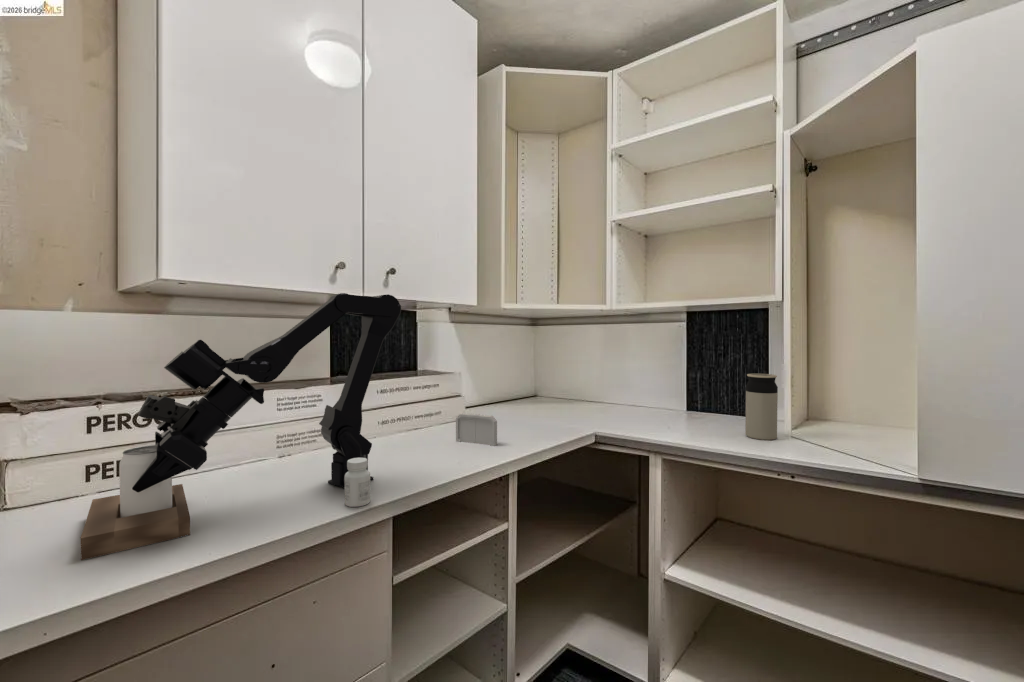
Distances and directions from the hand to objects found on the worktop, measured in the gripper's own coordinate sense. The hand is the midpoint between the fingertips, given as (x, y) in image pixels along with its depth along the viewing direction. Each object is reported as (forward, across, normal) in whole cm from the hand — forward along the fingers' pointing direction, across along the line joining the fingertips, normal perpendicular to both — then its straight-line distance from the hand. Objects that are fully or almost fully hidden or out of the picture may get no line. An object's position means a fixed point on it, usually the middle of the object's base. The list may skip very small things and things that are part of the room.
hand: (135, 485), depth 71 cm
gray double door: (-46, -10, +56) cm, 73 cm away
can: (+4, 0, +6) cm, 7 cm away
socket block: (+4, 0, +6) cm, 7 cm away
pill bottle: (-17, +12, +27) cm, 34 cm away
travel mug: (-93, +37, +103) cm, 144 cm away
